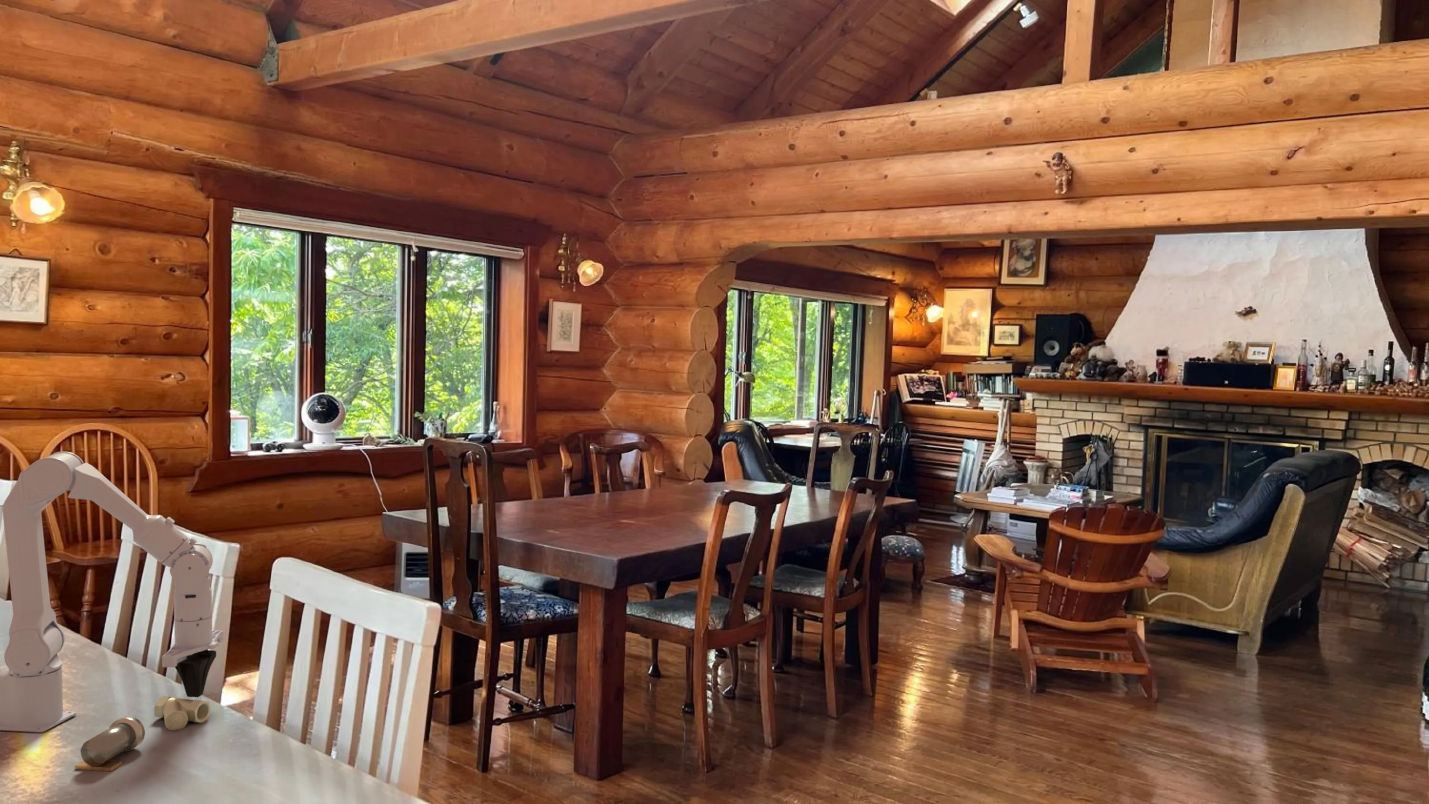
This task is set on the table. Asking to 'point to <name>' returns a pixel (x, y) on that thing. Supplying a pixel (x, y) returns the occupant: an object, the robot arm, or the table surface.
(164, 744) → the table surface
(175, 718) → the pipe fitting
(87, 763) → the pipe stub
